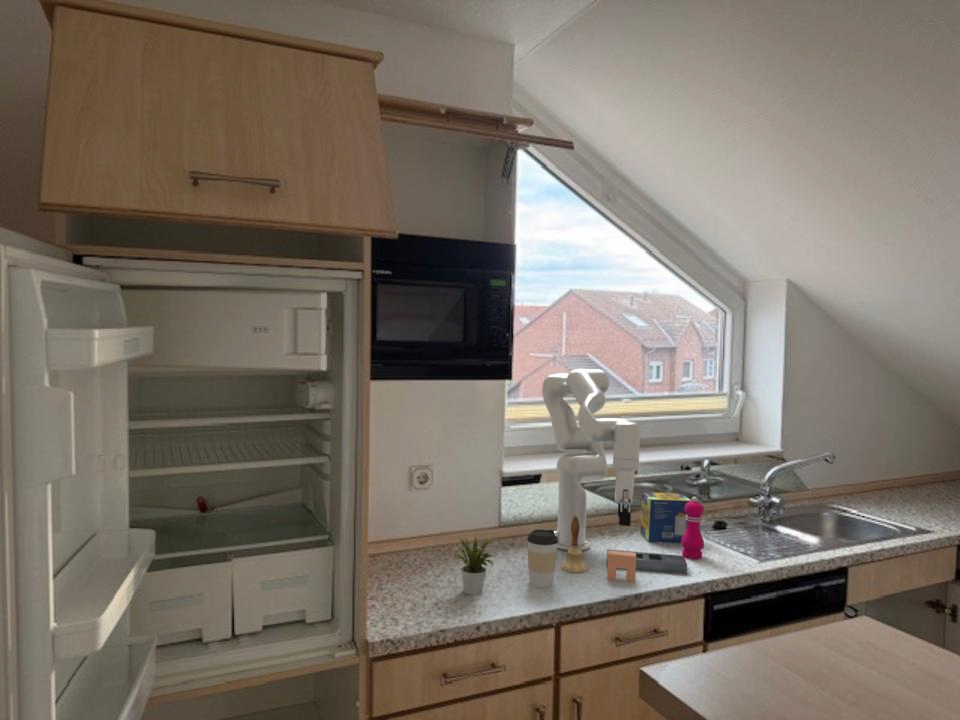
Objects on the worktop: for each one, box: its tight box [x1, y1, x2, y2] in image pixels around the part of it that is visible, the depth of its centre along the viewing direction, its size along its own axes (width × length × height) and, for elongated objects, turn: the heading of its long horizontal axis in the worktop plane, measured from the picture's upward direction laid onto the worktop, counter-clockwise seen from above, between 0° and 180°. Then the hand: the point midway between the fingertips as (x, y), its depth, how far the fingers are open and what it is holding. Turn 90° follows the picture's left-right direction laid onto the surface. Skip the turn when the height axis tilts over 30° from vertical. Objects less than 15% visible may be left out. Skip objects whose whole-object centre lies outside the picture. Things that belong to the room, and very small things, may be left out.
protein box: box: [639, 492, 692, 544], centre depth 235 cm, size 10×15×16 cm
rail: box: [606, 548, 688, 575], centre depth 206 cm, size 24×8×3 cm, turn 80°
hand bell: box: [560, 517, 589, 574], centre depth 201 cm, size 8×8×16 cm
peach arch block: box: [606, 551, 637, 582], centre depth 194 cm, size 8×3×8 cm, turn 80°
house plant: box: [446, 531, 494, 596], centre depth 180 cm, size 14×14×16 cm
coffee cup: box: [526, 529, 558, 588], centre depth 188 cm, size 9×9×15 cm
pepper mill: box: [680, 496, 705, 560], centre depth 216 cm, size 7×7×20 cm
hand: (624, 521), depth 193 cm, fingers open, 9 cm apart
